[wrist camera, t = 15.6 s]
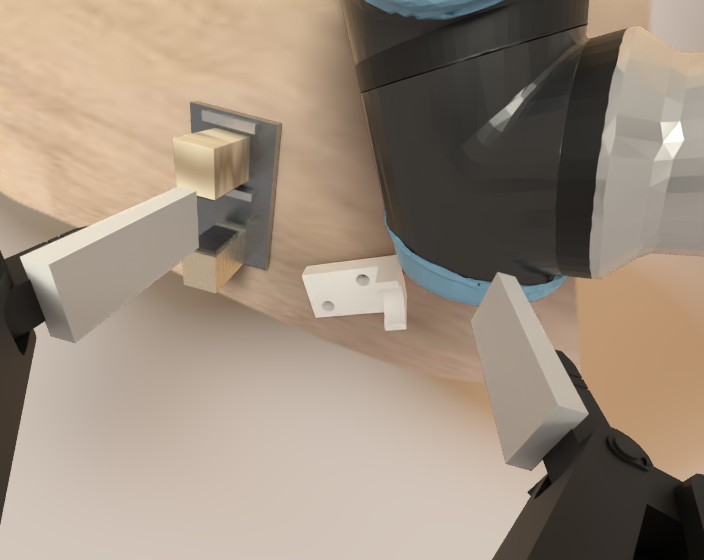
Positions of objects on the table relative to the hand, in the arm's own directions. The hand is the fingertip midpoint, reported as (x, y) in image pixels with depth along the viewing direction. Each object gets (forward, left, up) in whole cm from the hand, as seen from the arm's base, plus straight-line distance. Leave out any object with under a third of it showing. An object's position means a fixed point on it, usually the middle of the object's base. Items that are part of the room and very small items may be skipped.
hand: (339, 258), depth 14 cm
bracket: (+18, +1, -27) cm, 32 cm away
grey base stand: (+9, -17, -27) cm, 33 cm away
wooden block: (+4, -17, -25) cm, 31 cm away
